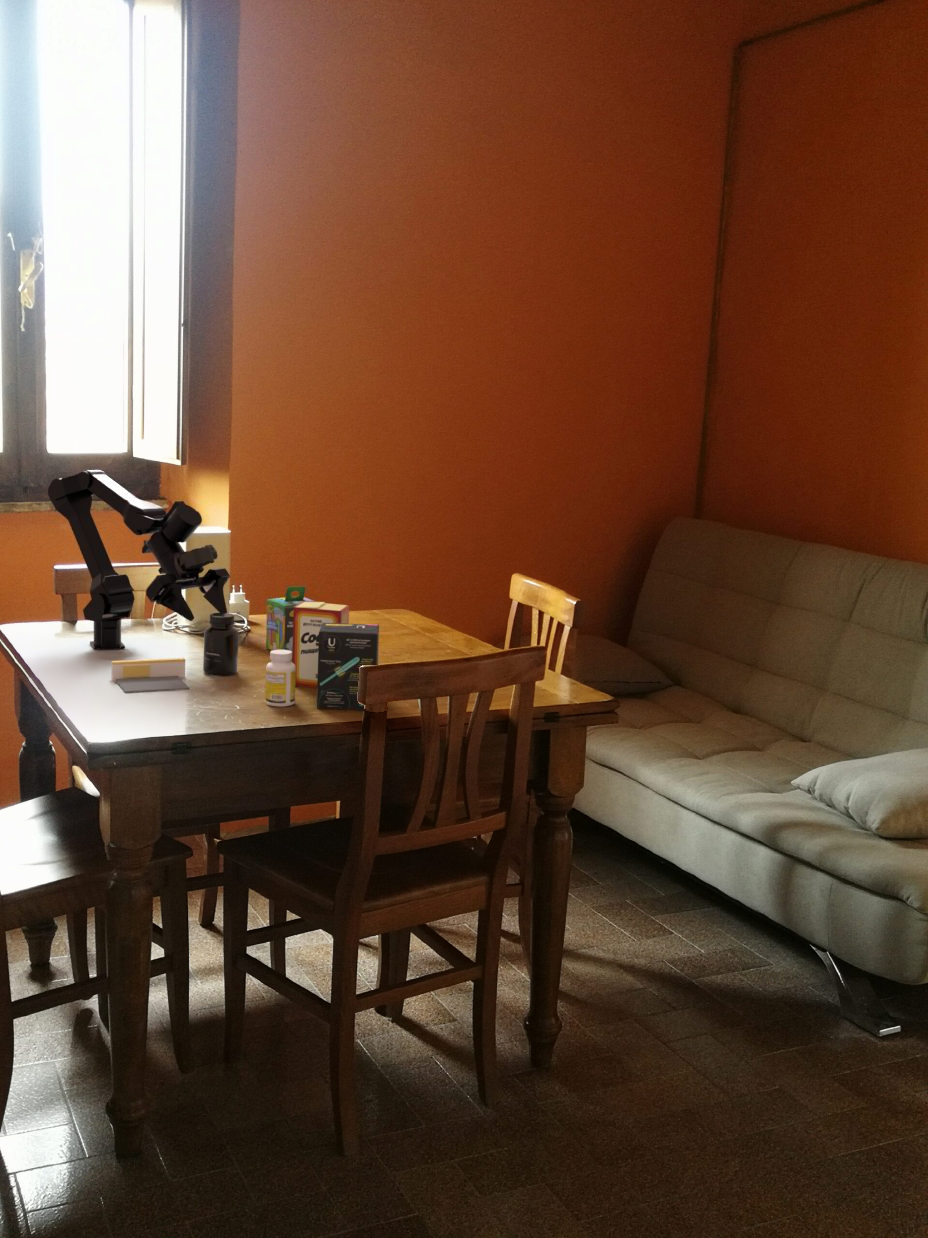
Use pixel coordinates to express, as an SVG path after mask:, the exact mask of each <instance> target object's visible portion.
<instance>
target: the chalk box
mask: <svg viewBox="0 0 928 1238" xmlns="http://www.w3.org/2000/svg"><path fill="white" fill-rule="evenodd" d="M293 592H299V594H298V595H296V596H292V593H293ZM305 593H306V586H305V585H301V586H299V585H297V586H288V587H287V588H286V592H285V597H276V598H268V599H266V623H265V624H266V627H265V628H266V630H265V631H266V632H265V633H266V635H265V636H266V638H265V640H266V642H265V643H266V645H265V648H266V649H267V650H269V651H273V650H289V651H292V646H293V612H294V607H295V606H296V605H298V604H300V603H302V602H317V601H315V600H313V599H310V598H307V597H305Z"/></svg>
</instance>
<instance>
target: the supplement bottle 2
mask: <svg viewBox="0 0 928 1238" xmlns="http://www.w3.org/2000/svg"><path fill="white" fill-rule="evenodd" d="M269 660H271V662H268V663H267V664H266V666H265V667H266V668H265V703H266V704H267V705H268V706H271V707H276V708H277V707H278V708H279V707H282V708H283V707H289V706H292V705H294V704H295V703H296V686H295V679H296V667H295V665H294V664H293V663H292V651H289V650H273V651H272V650H270V654H269Z"/></svg>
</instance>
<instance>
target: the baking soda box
mask: <svg viewBox="0 0 928 1238" xmlns="http://www.w3.org/2000/svg"><path fill="white" fill-rule="evenodd" d="M349 620H350V605H349V604H348V605H346V604H336V603H326V602H325V601H316V602H302V603H300V604H298V605H296V606H295V607H294V612H293V646H292V660H291V662H292V663H293V664H294V665H295V667H296V679H295V687H297V686H298V687H306V688H316V689H317V677H318V646H319V631H320V628H321V625H322V623H344V624H350V622H349Z"/></svg>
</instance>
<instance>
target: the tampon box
mask: <svg viewBox="0 0 928 1238" xmlns="http://www.w3.org/2000/svg"><path fill="white" fill-rule="evenodd" d="M379 641H380V624H371V623H370V624H368V623H348V624H344V623H322V625H321V628H320V631H319V646H318V677H317V688H316V709H318V710H320V709H321V710H348V711H349V710H352V711H353V710H354V711H365V710H364V705H361V704H359V703H358V701H357V692H358V681H359V667H360V666H362V665H378V666H379V646H380V645H379V644H380V643H379Z"/></svg>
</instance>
